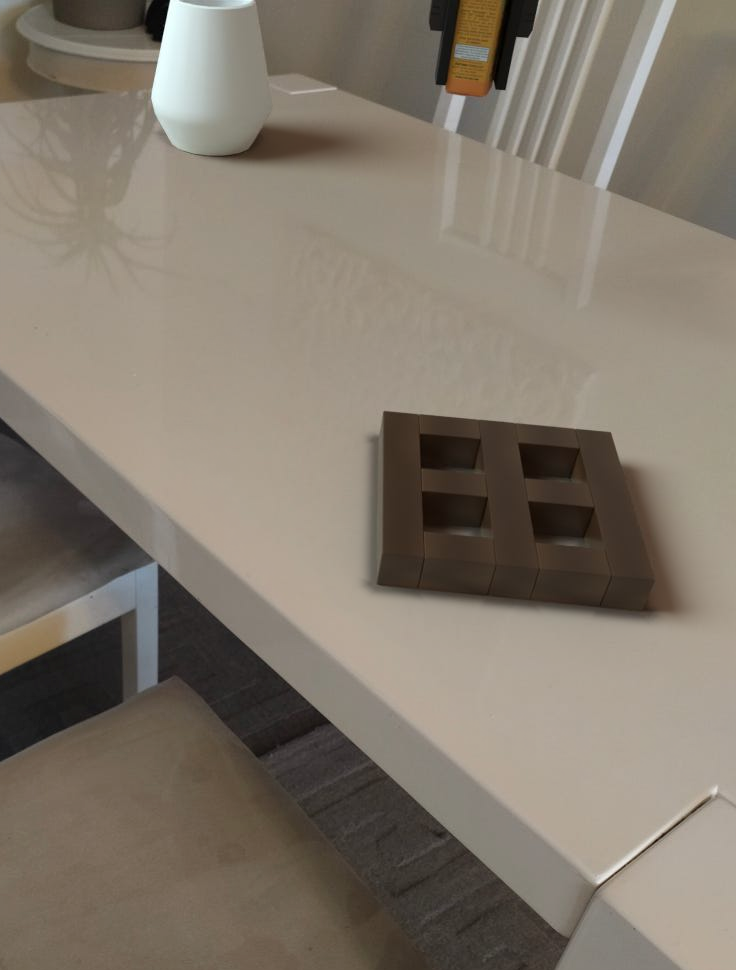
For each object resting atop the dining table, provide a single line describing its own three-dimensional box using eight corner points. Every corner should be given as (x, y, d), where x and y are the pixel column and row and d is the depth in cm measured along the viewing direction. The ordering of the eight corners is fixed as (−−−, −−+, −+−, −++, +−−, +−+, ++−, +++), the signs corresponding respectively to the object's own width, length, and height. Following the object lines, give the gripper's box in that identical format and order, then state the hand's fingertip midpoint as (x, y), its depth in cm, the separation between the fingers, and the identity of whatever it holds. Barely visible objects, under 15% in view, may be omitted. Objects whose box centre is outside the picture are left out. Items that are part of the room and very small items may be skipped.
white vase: (127, 136, 110) (121, -9, 101) (217, 115, 117) (220, -23, 107) (204, 171, 104) (205, 19, 94) (294, 147, 110) (304, 3, 101)
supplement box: (488, 100, 73) (515, -62, 66) (443, 94, 74) (465, -66, 67) (496, 88, 76) (522, -70, 69) (452, 83, 77) (474, -74, 70)
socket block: (598, 469, 67) (611, 431, 65) (638, 619, 56) (655, 580, 54) (377, 448, 67) (383, 410, 65) (374, 592, 57) (381, 553, 54)
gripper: (406, -365, 56) (358, 87, 72) (704, -347, 55) (587, 106, 71) (406, -360, 61) (361, 60, 78) (677, -344, 60) (574, 77, 77)
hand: (469, 81), depth 75 cm, fingers closed on supplement box, 4 cm apart
